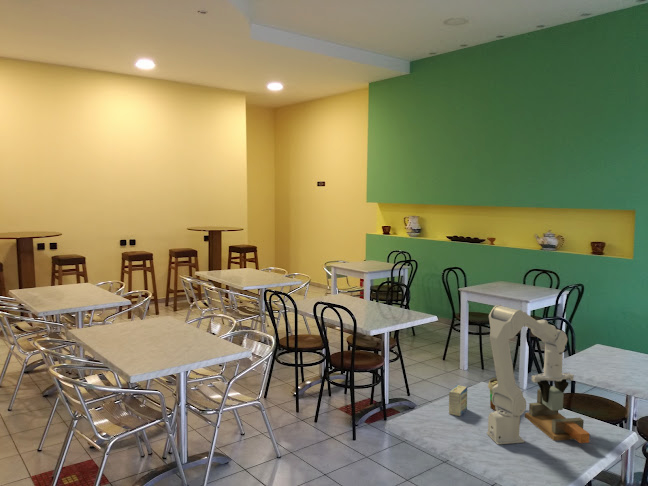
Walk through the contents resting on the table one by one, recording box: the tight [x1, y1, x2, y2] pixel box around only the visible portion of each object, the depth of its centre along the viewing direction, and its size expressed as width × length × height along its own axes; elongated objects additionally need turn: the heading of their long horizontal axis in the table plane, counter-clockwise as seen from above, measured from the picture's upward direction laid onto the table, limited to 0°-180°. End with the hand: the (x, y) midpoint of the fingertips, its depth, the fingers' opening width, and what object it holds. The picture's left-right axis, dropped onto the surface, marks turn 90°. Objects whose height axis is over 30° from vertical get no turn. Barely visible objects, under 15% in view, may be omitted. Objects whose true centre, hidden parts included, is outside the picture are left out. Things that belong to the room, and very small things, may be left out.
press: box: [524, 388, 575, 441], centre depth 178 cm, size 12×18×10 cm, turn 8°
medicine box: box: [448, 384, 468, 417], centre depth 191 cm, size 8×4×9 cm, turn 147°
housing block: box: [542, 385, 565, 411], centre depth 179 cm, size 4×6×6 cm, turn 8°
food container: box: [487, 377, 498, 412], centre depth 195 cm, size 12×6×10 cm, turn 145°
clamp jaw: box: [552, 417, 590, 444], centre depth 167 cm, size 10×10×4 cm
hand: (551, 400), depth 180 cm, fingers closed on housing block, 4 cm apart
